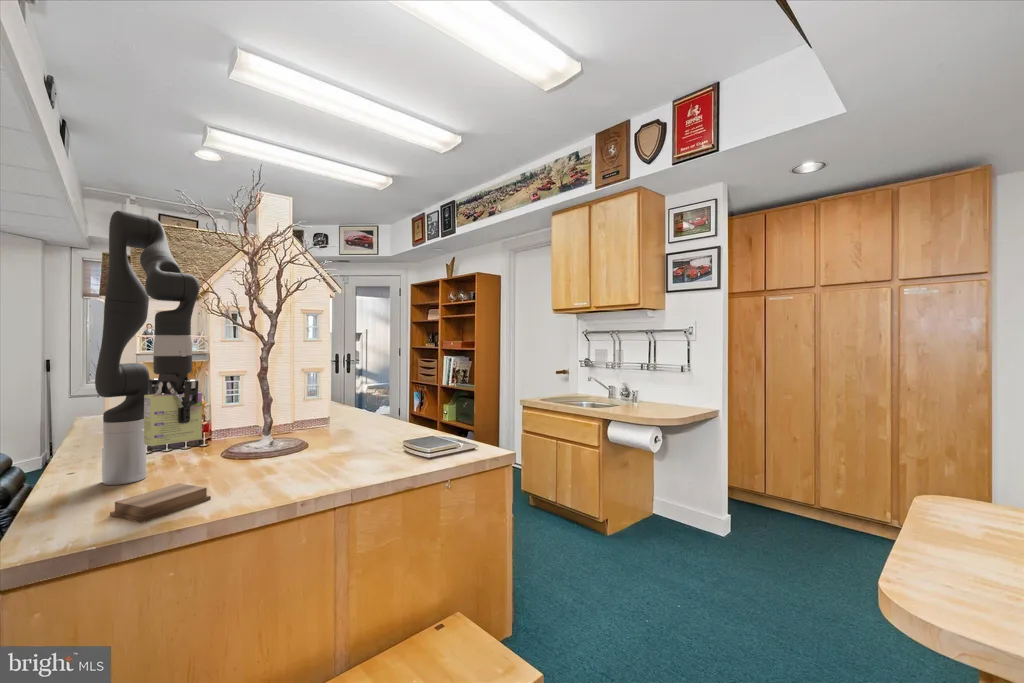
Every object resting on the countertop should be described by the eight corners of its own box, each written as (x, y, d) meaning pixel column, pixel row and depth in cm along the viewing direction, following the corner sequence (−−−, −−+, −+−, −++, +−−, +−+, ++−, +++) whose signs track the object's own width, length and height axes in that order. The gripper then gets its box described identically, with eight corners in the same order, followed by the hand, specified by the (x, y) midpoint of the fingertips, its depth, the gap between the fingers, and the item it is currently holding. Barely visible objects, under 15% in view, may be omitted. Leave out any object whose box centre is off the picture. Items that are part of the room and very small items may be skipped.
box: (194, 436, 114) (194, 390, 114) (202, 439, 110) (202, 392, 110) (143, 444, 106) (143, 394, 106) (150, 447, 102) (150, 396, 102)
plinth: (110, 515, 100) (110, 502, 100) (180, 494, 115) (180, 482, 115) (142, 522, 97) (142, 508, 97) (210, 499, 111) (210, 487, 111)
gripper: (135, 354, 107) (135, 423, 107) (178, 354, 102) (178, 426, 102) (168, 353, 114) (168, 418, 114) (209, 353, 109) (209, 421, 109)
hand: (173, 422), depth 108 cm, fingers closed on box, 6 cm apart
